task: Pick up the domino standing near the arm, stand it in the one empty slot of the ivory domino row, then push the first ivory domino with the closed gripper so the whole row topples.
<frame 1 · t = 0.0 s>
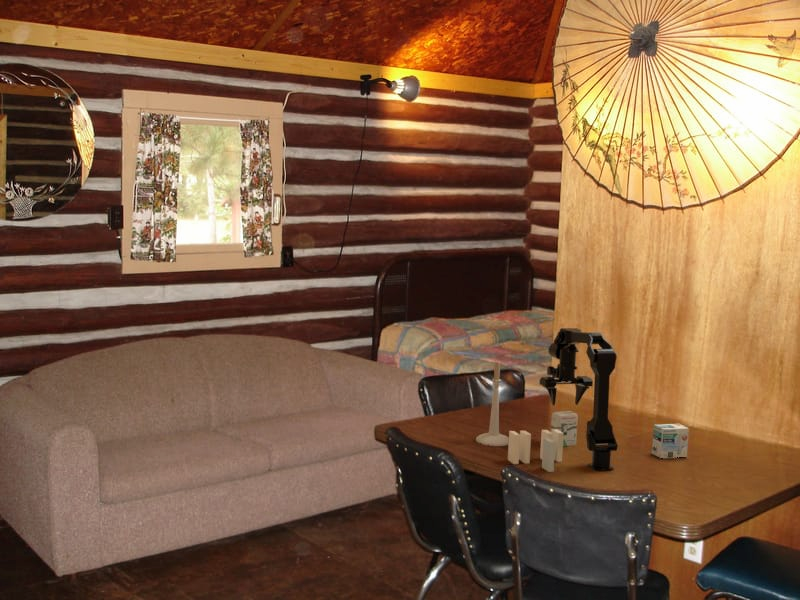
hand: (564, 404, 326), 15 cm above the table, fingers open, 9 cm apart
ink box: (562, 445, 327), on the table
light bulb box: (669, 456, 318), on the table
domino 5: (513, 461, 303), on the table
domino 4: (524, 461, 305), on the table
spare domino: (547, 469, 296), on the table
domino 2: (545, 460, 307), on the table
domino 1: (556, 459, 308), on the table
candlestick: (493, 441, 328), on the table
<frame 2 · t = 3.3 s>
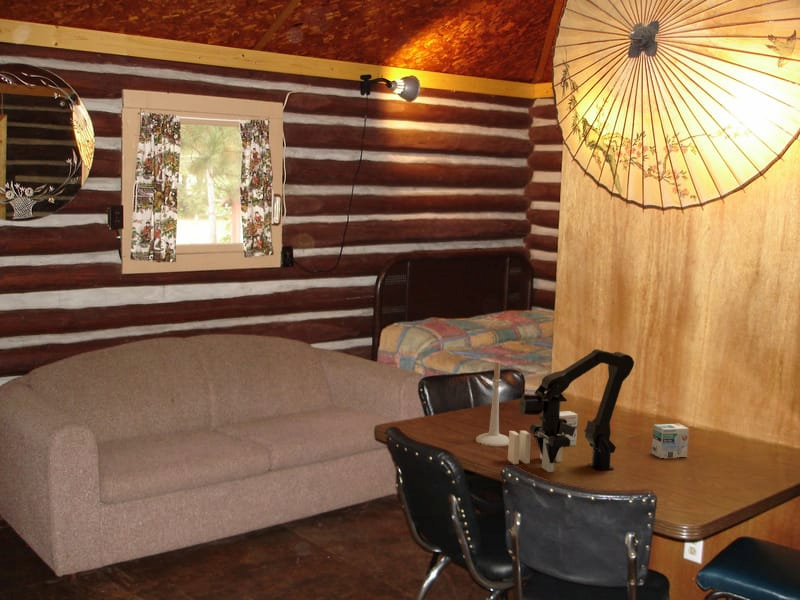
hand: (548, 460, 296), 3 cm above the table, fingers closed on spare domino, 5 cm apart
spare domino: (547, 469, 296), on the table, touching gripper
everything else where it was.
when the fingers open (4 cm above the table, at t = 7.7 s): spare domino stays where it is, on the table.
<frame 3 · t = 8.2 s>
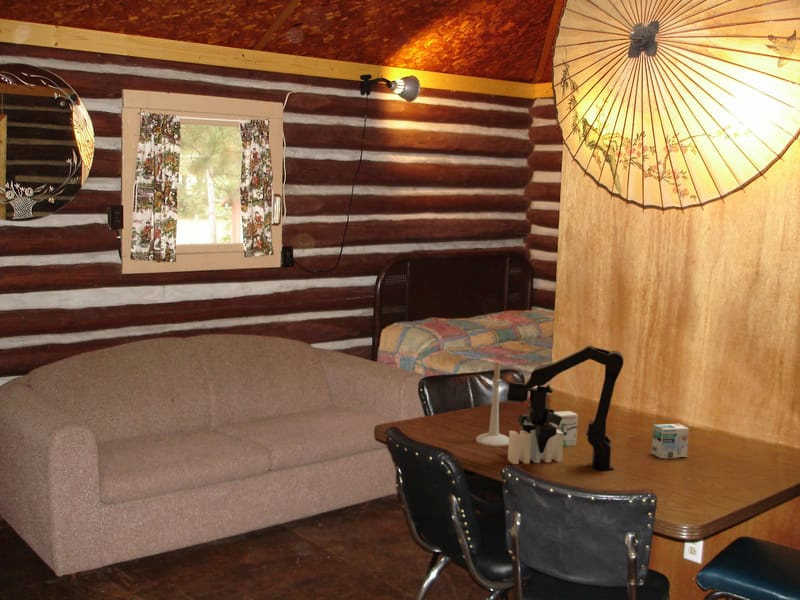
hand: (535, 449, 305), 4 cm above the table, fingers open, 9 cm apart
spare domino: (534, 460, 306), on the table
everything else where it was.
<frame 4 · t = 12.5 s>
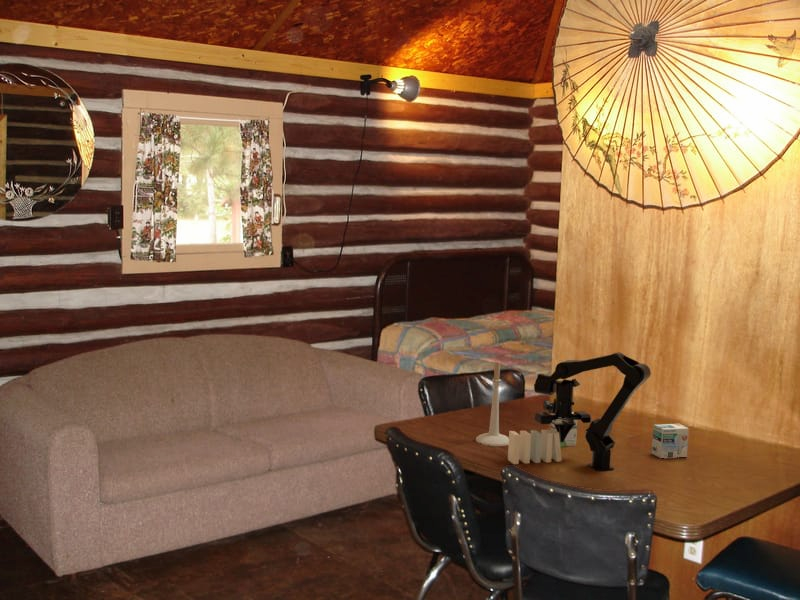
hand: (561, 442, 308), 6 cm above the table, fingers closed
domino 1: (556, 459, 308), on the table, tilted 10°
everything else where it was.
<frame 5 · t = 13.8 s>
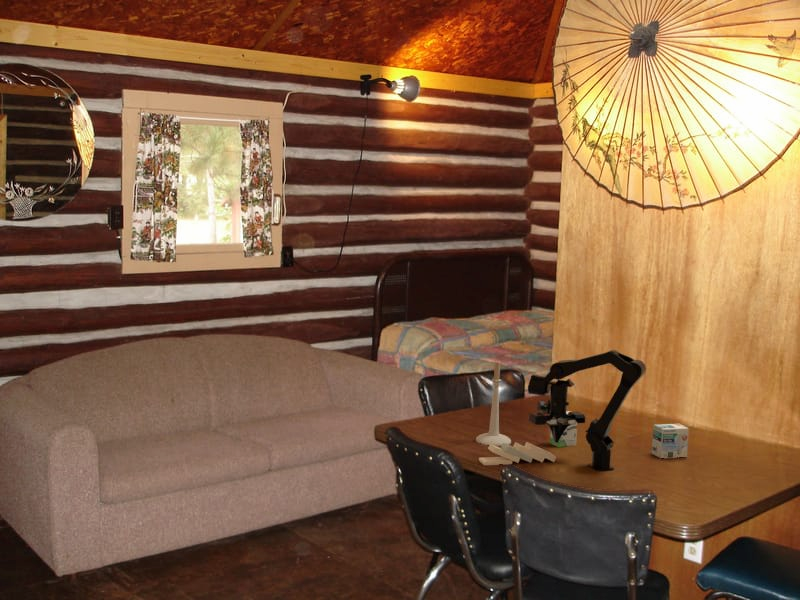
hand: (556, 442, 307), 6 cm above the table, fingers closed
domino 5: (509, 461, 303), on the table, tilted 90°, touching domino 4
domino 4: (516, 458, 304), point 1 cm above the table, tilted 67°, touching domino 5, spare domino
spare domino: (529, 458, 305), point 1 cm above the table, tilted 65°, touching domino 2, domino 4
domino 2: (541, 458, 306), point 1 cm above the table, tilted 65°, touching domino 1, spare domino
domino 1: (552, 457, 307), point 1 cm above the table, tilted 65°, touching domino 2
everything else where it was.
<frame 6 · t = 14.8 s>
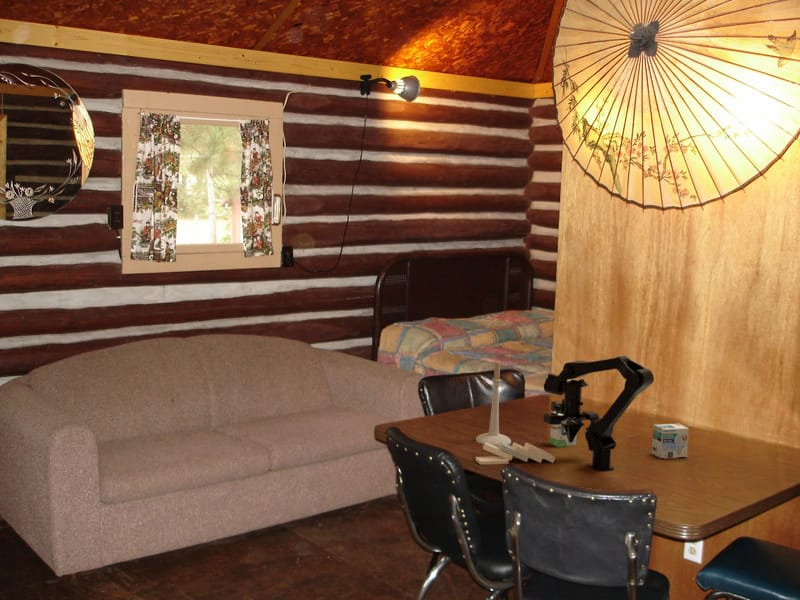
hand: (570, 442, 308), 6 cm above the table, fingers closed
domino 5: (506, 460, 304), on the table, tilted 90°, touching domino 4
domino 4: (511, 456, 305), point 1 cm above the table, tilted 71°, touching domino 5
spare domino: (526, 457, 305), point 1 cm above the table, tilted 66°, touching domino 2
domino 1: (552, 458, 306), point 1 cm above the table, tilted 66°, touching domino 2
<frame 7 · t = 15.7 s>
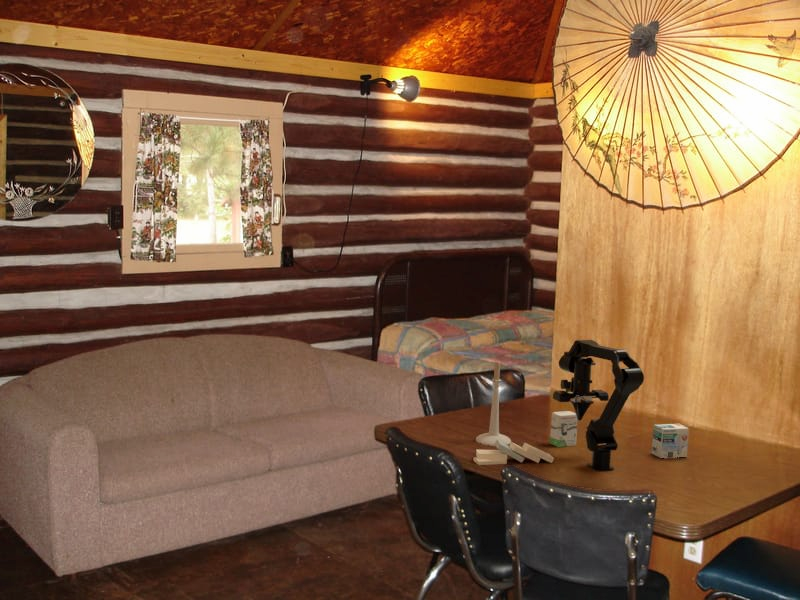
hand: (579, 420, 311), 13 cm above the table, fingers closed
domino 4: (506, 454, 304), point 2 cm above the table, tilted 90°, touching domino 5, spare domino
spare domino: (521, 458, 305), point 1 cm above the table, tilted 60°, touching domino 4
domino 2: (537, 458, 305), point 1 cm above the table, tilted 64°, touching domino 1
domino 1: (550, 458, 306), point 1 cm above the table, tilted 66°, touching domino 2
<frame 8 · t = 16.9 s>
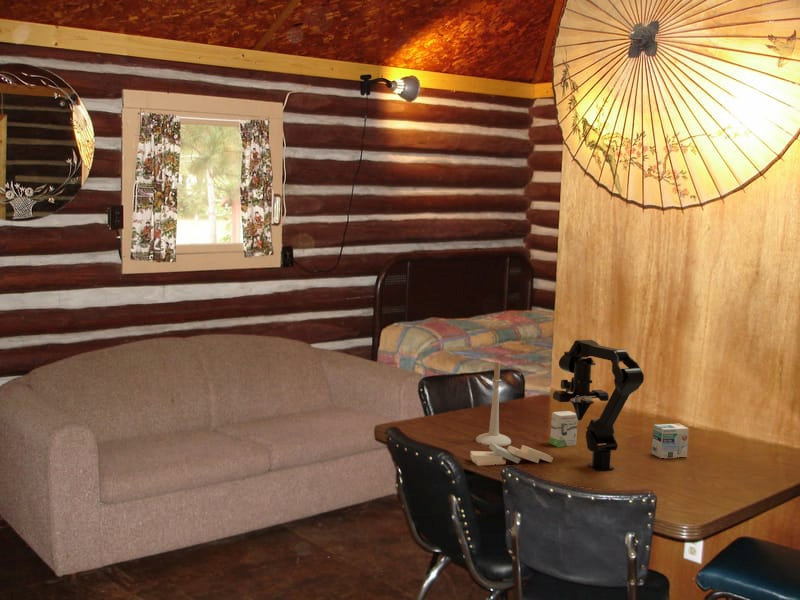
hand: (579, 420, 311), 13 cm above the table, fingers closed
domino 4: (501, 456, 302), point 2 cm above the table, tilted 89°, touching domino 5, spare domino
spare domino: (516, 458, 304), point 1 cm above the table, tilted 64°, touching domino 2, domino 4
domino 2: (535, 458, 305), point 1 cm above the table, tilted 69°, touching domino 1, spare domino
at the end: domino 5 tilted 90°; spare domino tilted 64°; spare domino inside the target area (1.9 cm from its centre), point 1.1 cm above the table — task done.
